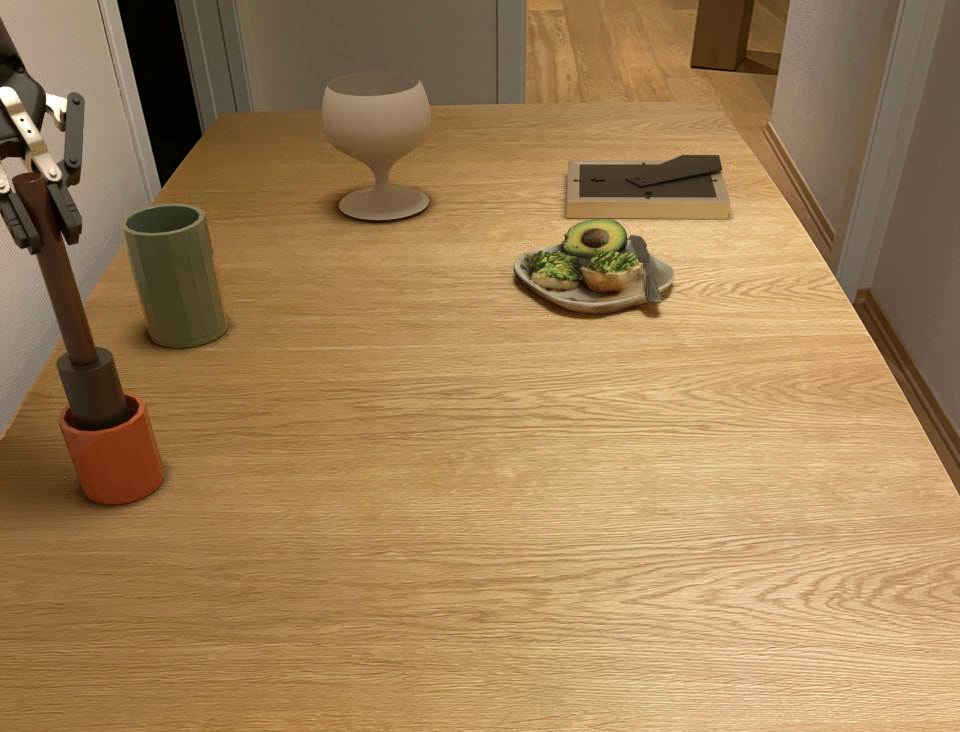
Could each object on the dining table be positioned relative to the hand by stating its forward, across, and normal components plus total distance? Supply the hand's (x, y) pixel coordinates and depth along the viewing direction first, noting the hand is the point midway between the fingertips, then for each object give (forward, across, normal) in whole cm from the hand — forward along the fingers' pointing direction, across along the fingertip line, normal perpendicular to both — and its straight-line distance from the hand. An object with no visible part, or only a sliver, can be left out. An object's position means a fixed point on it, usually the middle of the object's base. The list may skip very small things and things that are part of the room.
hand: (54, 243), depth 73 cm
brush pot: (+14, 0, -17) cm, 22 cm away
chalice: (-15, -54, -45) cm, 72 cm away
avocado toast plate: (+10, -60, -20) cm, 64 cm away
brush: (+10, 0, -13) cm, 16 cm away
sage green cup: (-3, -17, -33) cm, 38 cm away
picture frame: (-1, -82, -31) cm, 88 cm away
